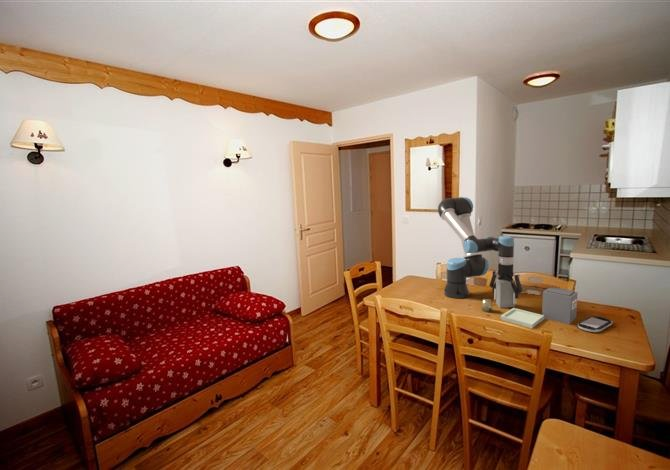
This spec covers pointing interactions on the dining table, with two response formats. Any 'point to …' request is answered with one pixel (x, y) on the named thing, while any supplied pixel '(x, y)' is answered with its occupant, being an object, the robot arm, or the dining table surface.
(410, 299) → the dining table surface
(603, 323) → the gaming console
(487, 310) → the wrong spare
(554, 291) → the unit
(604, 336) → the dining table surface
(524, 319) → the tray
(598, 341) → the dining table surface
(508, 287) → the skincare box
